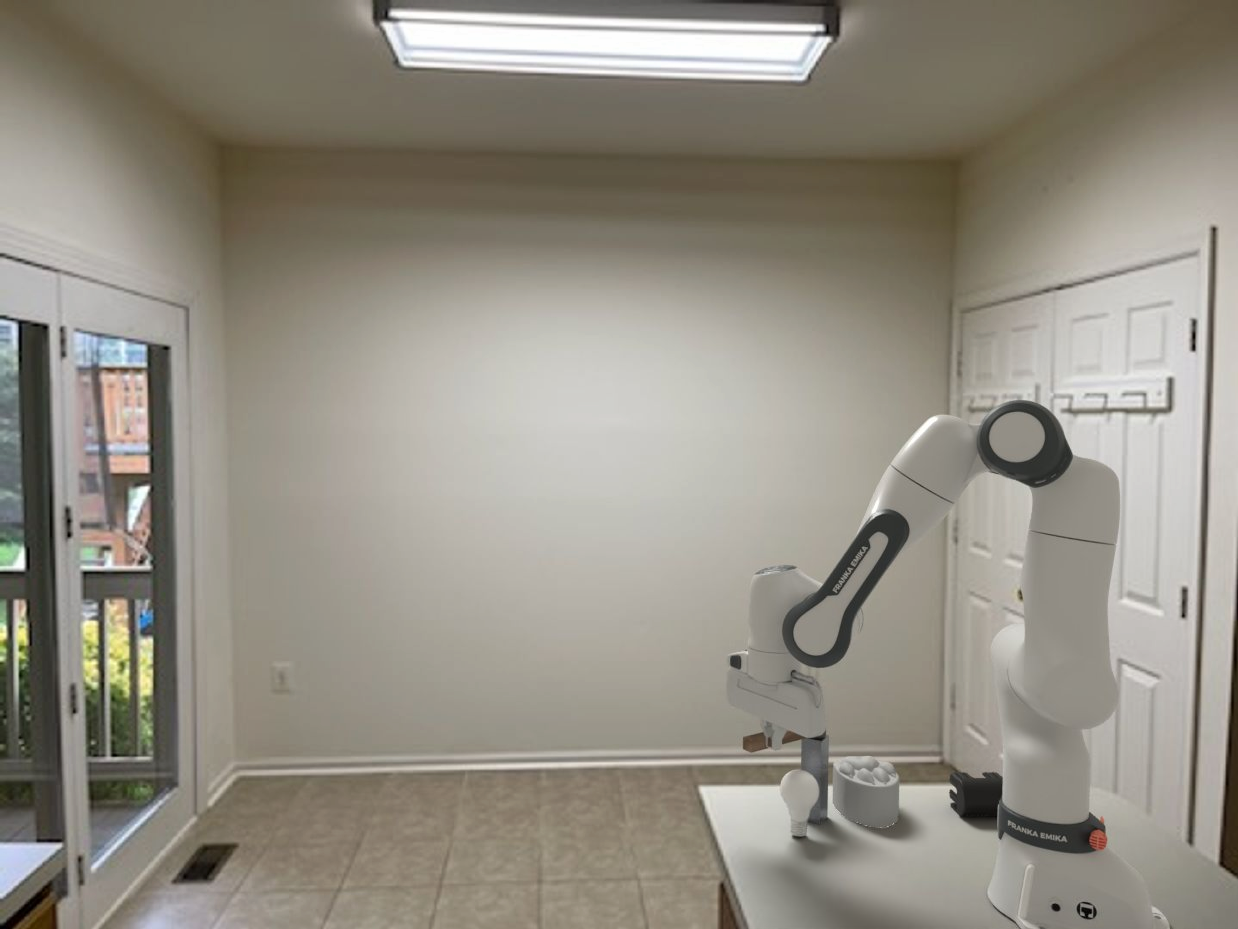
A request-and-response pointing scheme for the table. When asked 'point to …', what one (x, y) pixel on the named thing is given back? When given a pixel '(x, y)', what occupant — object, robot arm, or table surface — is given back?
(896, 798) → the lumpy-topped squat cylinder
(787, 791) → the lightbulb
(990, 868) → the table surface
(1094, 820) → the robot arm
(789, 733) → the hammer
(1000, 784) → the end cap
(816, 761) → the post
